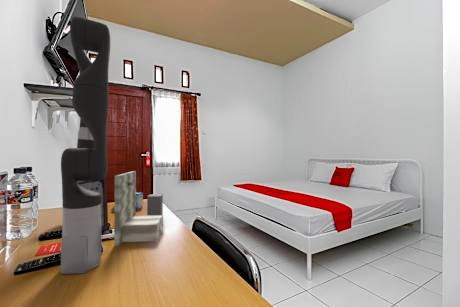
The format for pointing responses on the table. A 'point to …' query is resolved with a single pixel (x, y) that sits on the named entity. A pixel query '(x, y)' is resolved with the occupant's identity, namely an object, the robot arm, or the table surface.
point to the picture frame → (101, 188)
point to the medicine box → (139, 200)
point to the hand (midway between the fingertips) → (85, 177)
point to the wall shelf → (132, 214)
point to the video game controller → (113, 209)
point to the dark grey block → (155, 204)
